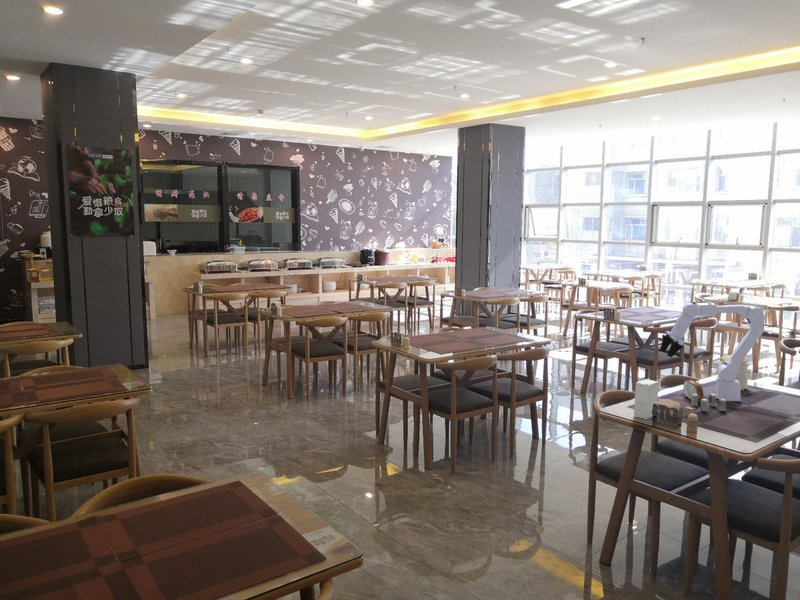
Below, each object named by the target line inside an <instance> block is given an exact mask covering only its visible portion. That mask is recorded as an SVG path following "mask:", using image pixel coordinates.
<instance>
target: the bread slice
mask: <svg viewBox="0 0 800 600" xmlns="http://www.w3.org/2000/svg"><path fill="white" fill-rule="evenodd" d="M683 393H684V395H685V397H686V398H687V397H688V398H687V399H689V400H690V399H691V400H692V394H697V395H698V403H701V399H704V390H703V387H702V385H701V384H700V383H699V382H696V380H693V379H686V380H684V381H683Z"/></svg>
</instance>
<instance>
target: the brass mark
mask: <svg viewBox="0 0 800 600" xmlns="http://www.w3.org/2000/svg"><path fill="white" fill-rule="evenodd" d="M686 408H687V409H686ZM685 409H686V410H689V409H691V410H690V411H695V410H694V409H696V410H697V408H696V406H685Z"/></svg>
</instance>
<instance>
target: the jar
mask: <svg viewBox="0 0 800 600" xmlns="http://www.w3.org/2000/svg"><path fill="white" fill-rule="evenodd" d="M732 353H733V352H731V354H732ZM731 354H725V355H724V356H721V358H720V359H721V360H720V361H718V364H719V365H720V364H722V363H723V362H724V361H725V360H726V359H727V358H729V357H730V355H731ZM749 366H750V364H748V359H747V358H746V357H745V358H744V359H743V360H742V362H741V363H740V365H739V369H738V371H737V373H736V377H735V380H738V381H739V382H740V384H741V390H742V389H746V388H747V389H748V385H749V384H748V382H749V381H748V380H749V379H748V378H749V373H750V372H749V370H748V368H749ZM718 376H719V374H718V373H717V377H718ZM747 389H746V390H747ZM742 391H743V390H742Z"/></svg>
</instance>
